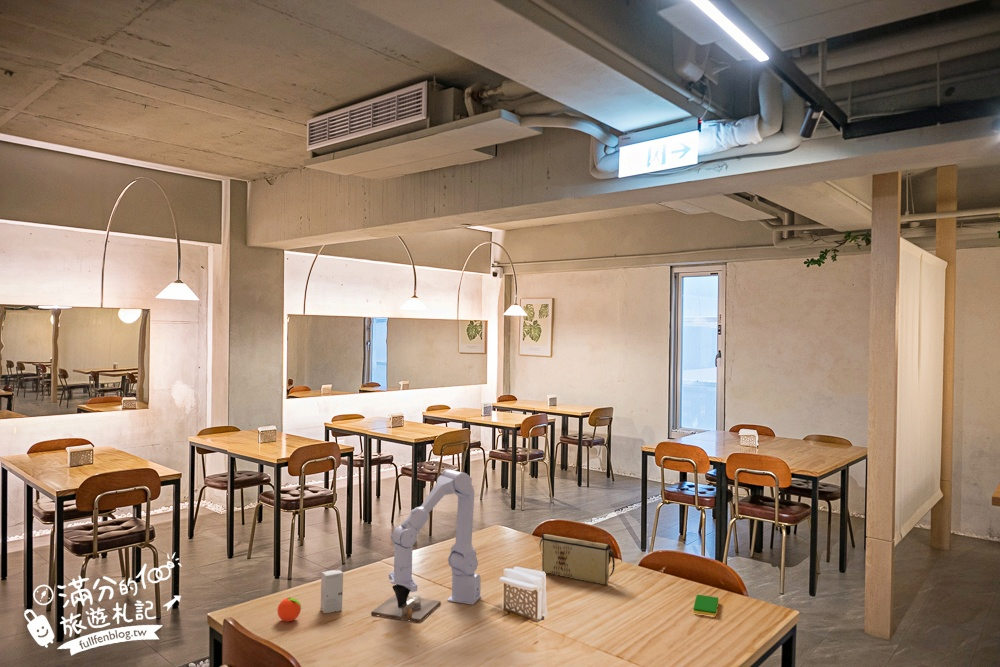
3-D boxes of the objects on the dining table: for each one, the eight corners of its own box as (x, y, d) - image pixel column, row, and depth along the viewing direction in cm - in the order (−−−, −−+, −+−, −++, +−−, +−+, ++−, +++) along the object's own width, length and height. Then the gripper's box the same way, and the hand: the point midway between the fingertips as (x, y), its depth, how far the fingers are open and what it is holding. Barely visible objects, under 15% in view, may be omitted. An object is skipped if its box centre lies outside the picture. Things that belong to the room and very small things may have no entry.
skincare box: (324, 614, 212) (325, 575, 212) (319, 609, 215) (320, 571, 216) (343, 610, 215) (343, 572, 215) (338, 605, 219) (339, 568, 219)
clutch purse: (617, 582, 246) (617, 541, 246) (610, 587, 240) (611, 546, 240) (544, 568, 260) (544, 529, 261) (536, 573, 254) (537, 533, 254)
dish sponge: (718, 604, 227) (718, 597, 227) (716, 619, 214) (716, 611, 214) (696, 601, 229) (696, 594, 229) (693, 616, 216) (693, 608, 216)
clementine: (308, 618, 208) (308, 595, 208) (294, 627, 202) (294, 603, 202) (286, 614, 211) (287, 592, 211) (272, 623, 204) (272, 600, 204)
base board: (440, 604, 222) (440, 594, 222) (419, 622, 206) (419, 612, 206) (394, 597, 227) (394, 587, 227) (371, 615, 212) (371, 604, 212)
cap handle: (412, 602, 219) (413, 594, 219) (422, 603, 218) (422, 596, 218) (394, 615, 208) (394, 607, 208) (404, 617, 207) (404, 609, 207)
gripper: (380, 561, 216) (380, 603, 215) (403, 573, 204) (402, 618, 204) (399, 557, 220) (399, 598, 220) (423, 569, 209) (422, 612, 208)
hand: (402, 607), depth 212 cm, fingers closed, pressing on cap handle
